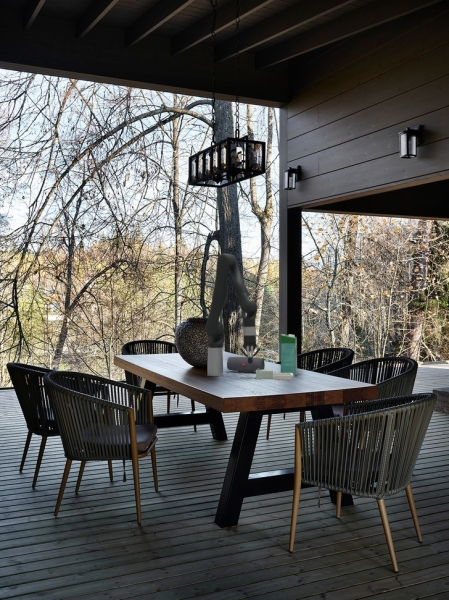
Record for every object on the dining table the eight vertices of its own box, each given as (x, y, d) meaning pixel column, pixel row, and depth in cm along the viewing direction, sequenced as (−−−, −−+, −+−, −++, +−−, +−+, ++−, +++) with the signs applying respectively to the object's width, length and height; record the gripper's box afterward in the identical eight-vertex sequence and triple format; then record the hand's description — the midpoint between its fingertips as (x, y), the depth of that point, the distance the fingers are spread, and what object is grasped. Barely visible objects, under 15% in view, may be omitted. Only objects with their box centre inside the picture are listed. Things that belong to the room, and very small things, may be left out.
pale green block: (255, 379, 370) (255, 369, 370) (256, 378, 376) (255, 368, 376) (273, 379, 369) (273, 369, 369) (272, 378, 375) (272, 368, 375)
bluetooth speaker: (226, 372, 400) (226, 357, 400) (231, 371, 409) (231, 355, 409) (261, 374, 393) (261, 358, 393) (264, 372, 401) (264, 356, 401)
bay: (273, 379, 367) (273, 375, 366) (273, 377, 378) (273, 372, 378) (293, 379, 366) (293, 375, 366) (292, 377, 378) (292, 372, 378)
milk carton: (295, 375, 383) (295, 334, 383) (280, 375, 385) (280, 334, 385) (296, 373, 392) (296, 333, 392) (282, 373, 394) (282, 333, 394)
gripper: (238, 335, 370) (238, 364, 370) (260, 334, 369) (261, 364, 369) (238, 334, 377) (239, 363, 377) (260, 333, 377) (261, 362, 377)
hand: (250, 363), depth 373 cm, fingers closed
